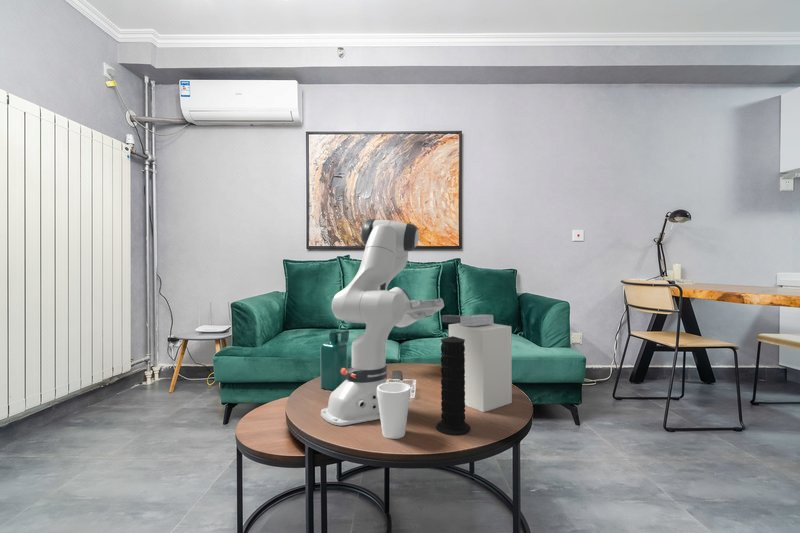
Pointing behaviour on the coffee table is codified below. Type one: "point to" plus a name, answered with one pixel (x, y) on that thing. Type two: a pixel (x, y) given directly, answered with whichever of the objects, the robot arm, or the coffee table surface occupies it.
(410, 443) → the coffee table surface
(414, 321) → the robot arm
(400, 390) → the foam cup
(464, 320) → the hammer
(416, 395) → the coffee table surface
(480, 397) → the plinth
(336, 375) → the green bottle
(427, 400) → the coffee table surface
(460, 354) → the handle grip
